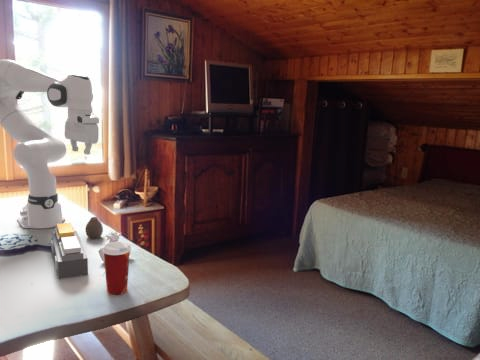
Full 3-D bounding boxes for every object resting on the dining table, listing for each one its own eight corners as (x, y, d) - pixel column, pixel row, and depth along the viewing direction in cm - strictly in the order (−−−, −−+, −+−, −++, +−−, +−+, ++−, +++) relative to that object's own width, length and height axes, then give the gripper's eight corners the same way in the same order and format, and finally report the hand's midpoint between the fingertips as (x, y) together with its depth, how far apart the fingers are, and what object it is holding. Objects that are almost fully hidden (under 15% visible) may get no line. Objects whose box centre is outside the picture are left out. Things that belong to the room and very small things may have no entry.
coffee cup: (135, 291, 127) (135, 246, 124) (112, 299, 120) (111, 252, 117) (121, 282, 132) (121, 239, 129) (97, 290, 126) (97, 244, 123)
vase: (97, 241, 167) (96, 221, 165) (82, 239, 168) (81, 219, 167) (106, 235, 174) (105, 216, 172) (91, 234, 175) (91, 214, 173)
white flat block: (61, 241, 142) (60, 237, 141) (76, 240, 144) (76, 235, 144) (64, 254, 131) (64, 249, 131) (80, 251, 134) (80, 247, 134)
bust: (129, 261, 154) (123, 233, 158) (135, 254, 149) (129, 226, 152) (98, 267, 147) (92, 238, 151) (103, 261, 142) (96, 231, 146)
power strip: (50, 247, 157) (50, 228, 156) (76, 244, 162) (76, 225, 160) (57, 279, 131) (56, 256, 130) (87, 274, 136) (87, 252, 134)
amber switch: (56, 227, 156) (56, 223, 156) (70, 226, 159) (70, 222, 158) (59, 237, 146) (59, 233, 146) (74, 236, 148) (74, 231, 148)
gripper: (59, 115, 160) (60, 149, 162) (85, 119, 146) (86, 156, 149) (75, 115, 164) (76, 149, 167) (101, 119, 151) (101, 155, 154)
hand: (81, 152), depth 158 cm, fingers open, 8 cm apart
